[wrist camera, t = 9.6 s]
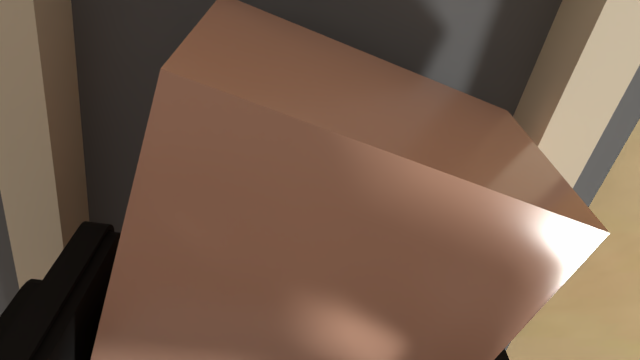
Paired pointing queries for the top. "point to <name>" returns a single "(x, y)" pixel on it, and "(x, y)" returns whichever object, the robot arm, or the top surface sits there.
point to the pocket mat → (314, 14)
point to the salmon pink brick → (330, 209)
